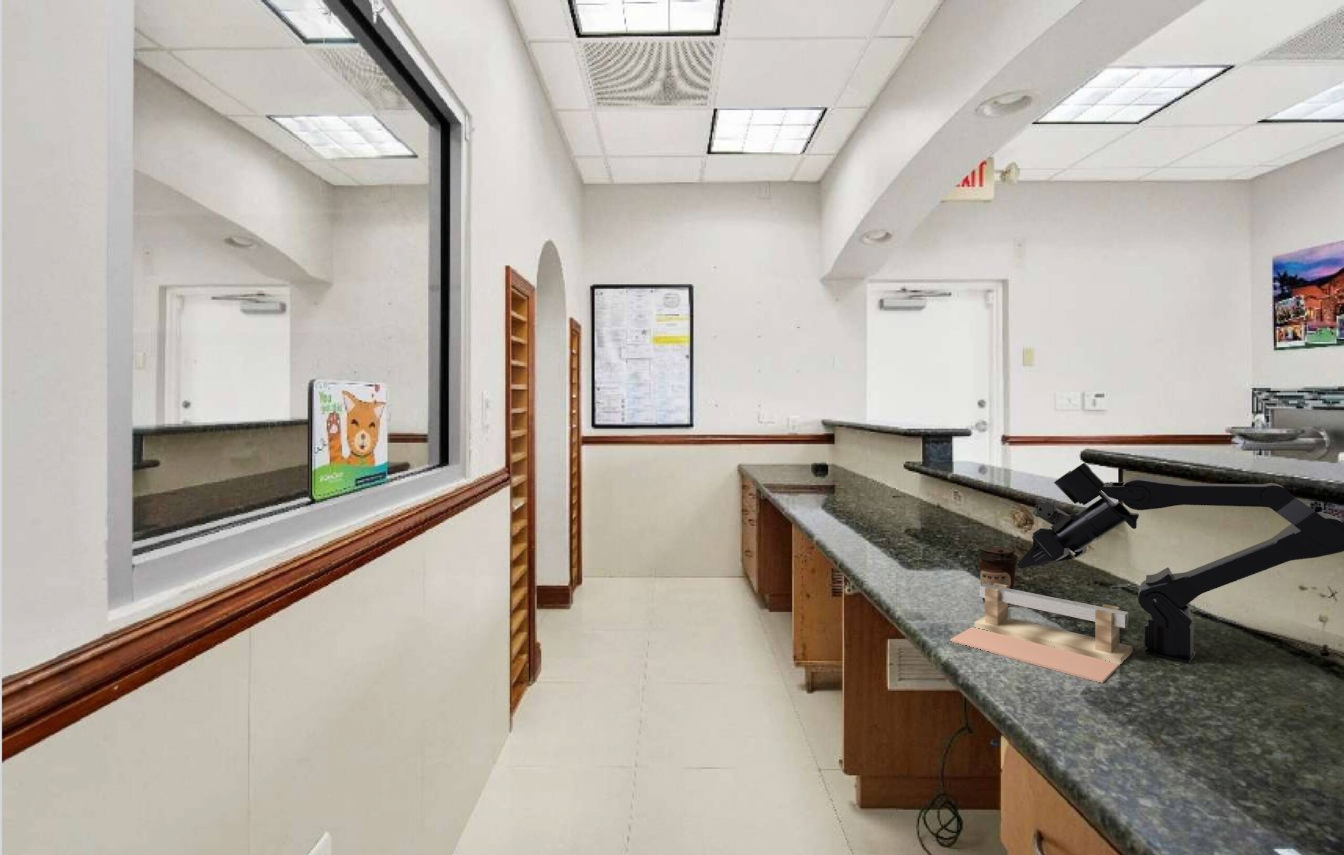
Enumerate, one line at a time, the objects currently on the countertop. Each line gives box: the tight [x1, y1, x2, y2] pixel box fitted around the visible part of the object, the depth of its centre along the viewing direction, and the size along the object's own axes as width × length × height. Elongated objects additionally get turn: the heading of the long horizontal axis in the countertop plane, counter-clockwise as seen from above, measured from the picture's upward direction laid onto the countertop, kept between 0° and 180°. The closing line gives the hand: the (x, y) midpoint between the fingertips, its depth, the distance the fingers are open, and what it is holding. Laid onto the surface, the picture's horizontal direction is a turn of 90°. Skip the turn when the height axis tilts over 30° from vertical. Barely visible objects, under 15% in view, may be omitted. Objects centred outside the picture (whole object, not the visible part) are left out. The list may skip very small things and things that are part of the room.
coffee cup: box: [977, 546, 1019, 607], centre depth 146 cm, size 9×8×13 cm
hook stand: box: [973, 583, 1133, 665], centre depth 124 cm, size 26×8×9 cm, turn 41°
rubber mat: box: [949, 626, 1120, 684], centre depth 118 cm, size 26×10×1 cm, turn 41°
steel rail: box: [978, 584, 1130, 629], centre depth 124 cm, size 26×2×2 cm, turn 41°
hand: (1025, 565), depth 130 cm, fingers open, 9 cm apart
